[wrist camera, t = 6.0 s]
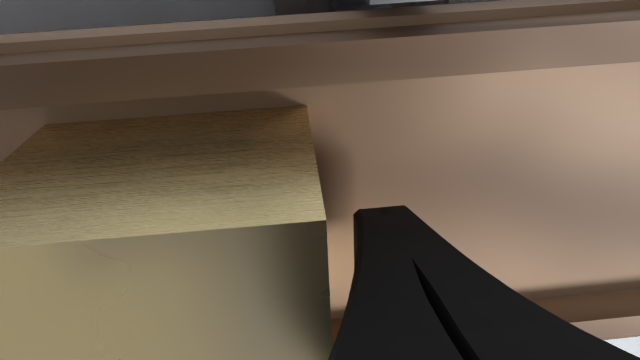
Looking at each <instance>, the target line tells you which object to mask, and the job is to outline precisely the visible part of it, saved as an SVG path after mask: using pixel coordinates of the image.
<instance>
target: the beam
mask: <svg viewBox="0 0 640 360" xmlns="http://www.w3.org/2000/svg"><path fill="white" fill-rule="evenodd" d="M294 106H307V111H308V116H309V122H310V128H311V134H312V140H313V145H314V151H315V157H316V163H317V169H318V174H319V180H320V186H321V192H322V198H323V204H324V209H325V215H326V223H327V244H328V265H329V286H330V307H331V328H332V348H333V345H334V343H335V340H336V337H337V334H338V331H339V328H340V325H341V322H342V319H343V315H344V312H345V308H346V305H347V301H348V297H349V292H350V288H351V283H352V279H353V274H354V229H353V214H354V213H355V212H356V211H357V210H358V209H367V208H378V207H389V206H400V205H405V206H406V207H407V208H409V209H410V210H411V211H412V212H413V213H415V214H416V215H417V216H418V217H419V218H420V219H422V220H423V221H424V222H425V223H426V224H427V225H428V226H430V227H431V228H432V229H433V230H434V231H436V232H437V233H438V234H439V235H440V236H441V237H443V238H444V239H445V240H446V241H448V242H449V243H450V244H451V245H453V246H454V247H455V248H456V249H458V250H459V251H460V252H461V253H463V254H464V255H465V256H467V257H468V258H469V259H470V260H472V261H473V262H474V263H476V264H477V265H479V266H480V267H481V268H483V269H484V270H485V271H487V272H488V273H490V274H491V275H493V276H494V277H495V278H497V279H498V280H500V281H501V282H503V283H504V284H506V285H507V286H508V287H510V288H511V289H513V290H515V291H516V292H518V293H519V294H521V295H522V296H524V297H526V298H527V299H529V300H531V301H532V302H534V303H536V304H537V305H539V306H541V307H542V308H544V309H546V310H547V311H549V312H551V313H553V314H554V315H556V316H558V317H559V318H561V319H563V320H565V321H567V322H569V323H570V324H572V325H574V326H576V327H578V328H580V329H582V330H583V331H585V332H587V333H589V334H591V335H593V336H595V337H597V338H599V339H602V340H608V339H618V338H627V337H637V336H640V0H501V1H486V2H472V3H457V4H442V5H427V6H413V7H398V8H383V9H369V10H354V11H339V12H324V13H310V14H295V15H280V16H266V17H251V18H236V19H221V20H207V21H192V22H177V23H163V24H148V25H133V26H118V27H104V28H89V29H74V30H60V31H45V32H30V33H15V34H1V35H0V162H2V161H3V160H4V159H5V158H6V157H7V156H9V155H10V154H11V153H12V152H13V151H14V150H15V149H17V148H18V147H19V146H20V145H21V144H22V143H24V142H25V141H26V140H27V139H28V138H29V137H31V136H32V135H33V134H34V133H35V132H36V131H37V130H39V129H40V128H41V127H42V126H43V125H45V124H59V123H73V122H86V121H100V120H114V119H128V118H142V117H156V116H169V115H183V114H197V113H211V112H225V111H239V110H252V109H266V108H280V107H294Z"/></svg>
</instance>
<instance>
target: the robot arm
mask: <svg viewBox="0 0 640 360" xmlns="http://www.w3.org/2000/svg"><path fill="white" fill-rule="evenodd" d="M353 229H354V274H353V279H352V283H351V288H350V292H349V297H348V301H347V305H346V308H345V312H344V315H343V319H342V322H341V325H340V328H339V331H338V334H337V337H336V340H335V343H334V345H333V348H332V350H331V353H330V355H329V358H328V360H640V358H639V357H637V356H634V355H632V354H630V353H628V352H626V351H624V350H622V349H620V348H618V347H616V346H614V345H612V344H610V343H608V342H606V341H604V340H602V339H599V338H597V337H595V336H593V335H591V334H589V333H587V332H585V331H583V330H582V329H580V328H578V327H576V326H574V325H572V324H570V323H569V322H567V321H565V320H563V319H561V318H559V317H558V316H556V315H554V314H553V313H551V312H549V311H547V310H546V309H544V308H542V307H541V306H539V305H537V304H536V303H534V302H532V301H531V300H529V299H527V298H526V297H524V296H522V295H521V294H519V293H518V292H516V291H515V290H513V289H511V288H510V287H508V286H507V285H506V284H504V283H503V282H501V281H500V280H498V279H497V278H495V277H494V276H493V275H491V274H490V273H488V272H487V271H485V270H484V269H483V268H481V267H480V266H479V265H477V264H476V263H474V262H473V261H472V260H470V259H469V258H468V257H467V256H465V255H464V254H463V253H461V252H460V251H459V250H458V249H456V248H455V247H454V246H453V245H451V244H450V243H449V242H448V241H446V240H445V239H444V238H443V237H441V236H440V235H439V234H438V233H437V232H436V231H434V230H433V229H432V228H431V227H430V226H428V225H427V224H426V223H425V222H424V221H423V220H422V219H420V218H419V217H418V216H417V215H416V214H415V213H413V212H412V211H411V210H410V209H409V208H407V207H406V206H405V205H400V206H389V207H378V208H367V209H358V210H357V211H356V212H355V213H354V214H353Z"/></svg>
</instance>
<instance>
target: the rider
mask: <svg viewBox="0 0 640 360" xmlns="http://www.w3.org/2000/svg"><path fill="white" fill-rule="evenodd" d="M331 350H332V328H331V307H330V286H329V265H328V244H327V223H326V215H325V209H324V204H323V198H322V192H321V186H320V180H319V174H318V169H317V163H316V157H315V151H314V145H313V140H312V134H311V128H310V122H309V116H308V111H307V106H294V107H280V108H266V109H252V110H239V111H225V112H211V113H197V114H183V115H169V116H156V117H142V118H128V119H114V120H100V121H86V122H73V123H59V124H45V125H43V126H42V127H41V128H40V129H39V130H37V131H36V132H35V133H34V134H33V135H32V136H31V137H29V138H28V139H27V140H26V141H25V142H24V143H22V144H21V145H20V146H19V147H18V148H17V149H15V150H14V151H13V152H12V153H11V154H10V155H9V156H7V157H6V158H5V159H4V160H3V161H2V162H0V360H328V358H329V355H330V353H331Z"/></svg>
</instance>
